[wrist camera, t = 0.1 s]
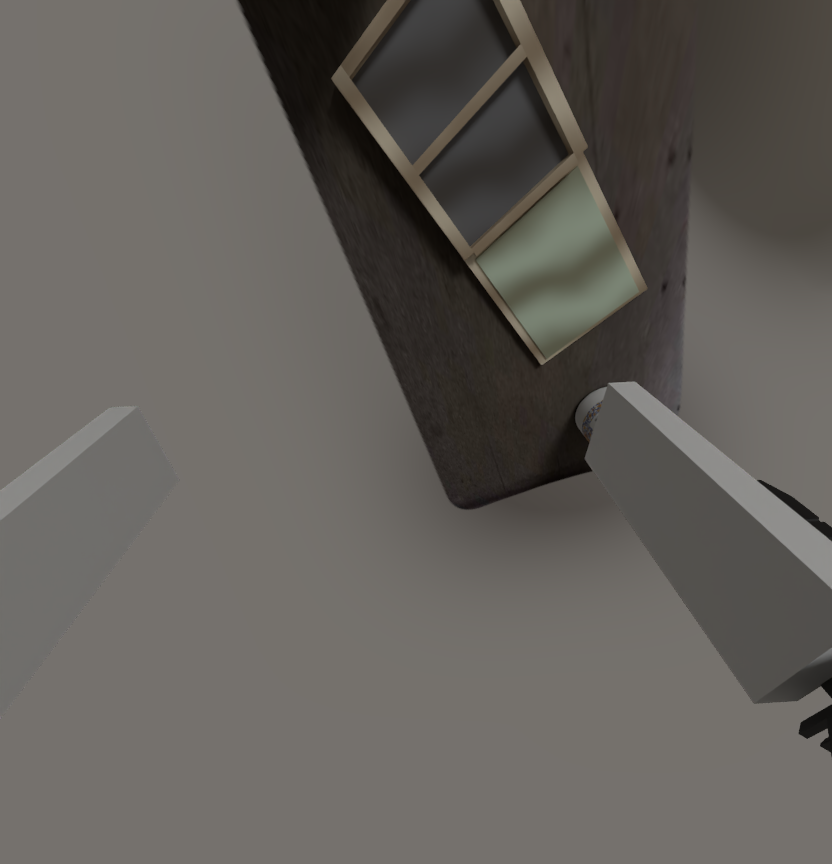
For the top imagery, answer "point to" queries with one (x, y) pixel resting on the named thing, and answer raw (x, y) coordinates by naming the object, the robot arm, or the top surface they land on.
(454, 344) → the top surface
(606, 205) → the tray
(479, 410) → the top surface
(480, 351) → the top surface
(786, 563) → the robot arm
